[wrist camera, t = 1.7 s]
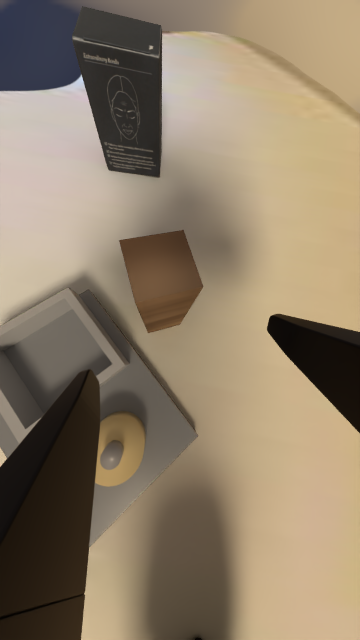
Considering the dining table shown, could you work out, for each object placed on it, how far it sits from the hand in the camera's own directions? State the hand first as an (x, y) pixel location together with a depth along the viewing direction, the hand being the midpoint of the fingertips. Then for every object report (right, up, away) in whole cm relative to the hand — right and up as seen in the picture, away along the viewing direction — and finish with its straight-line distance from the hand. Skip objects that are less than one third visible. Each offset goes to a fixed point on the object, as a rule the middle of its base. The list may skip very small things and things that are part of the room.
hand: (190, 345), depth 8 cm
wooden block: (-3, +2, +12) cm, 13 cm away
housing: (-10, -7, +9) cm, 16 cm away
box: (-8, +26, +18) cm, 32 cm away
